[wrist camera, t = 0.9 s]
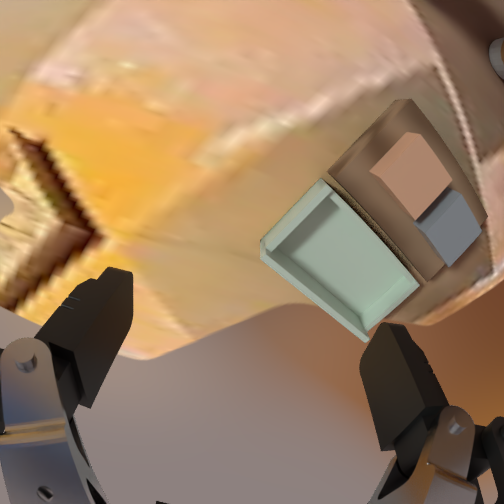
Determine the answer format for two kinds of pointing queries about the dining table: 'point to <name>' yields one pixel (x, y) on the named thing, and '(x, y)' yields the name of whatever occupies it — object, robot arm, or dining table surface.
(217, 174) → the dining table surface
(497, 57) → the coffee cup
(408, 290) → the tray
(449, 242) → the slate tile
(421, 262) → the grey brown flat block
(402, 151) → the terracotta tile
